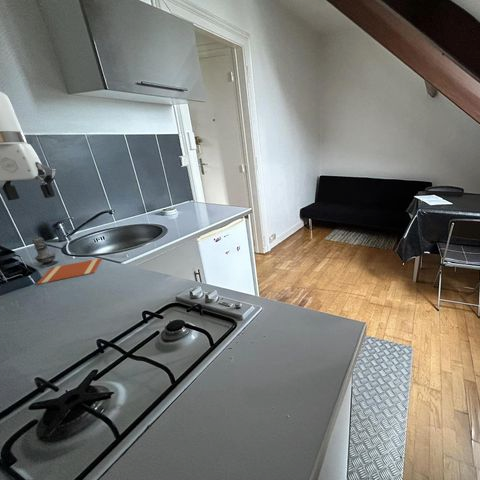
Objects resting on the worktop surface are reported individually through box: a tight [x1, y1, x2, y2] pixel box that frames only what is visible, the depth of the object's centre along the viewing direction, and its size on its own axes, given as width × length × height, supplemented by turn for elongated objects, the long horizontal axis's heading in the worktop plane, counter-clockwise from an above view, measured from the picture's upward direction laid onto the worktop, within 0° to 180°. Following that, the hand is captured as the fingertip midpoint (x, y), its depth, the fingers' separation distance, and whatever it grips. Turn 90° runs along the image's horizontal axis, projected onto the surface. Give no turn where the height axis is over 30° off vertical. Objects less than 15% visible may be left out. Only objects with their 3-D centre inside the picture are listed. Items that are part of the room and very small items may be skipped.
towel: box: [36, 258, 103, 286], centre depth 95 cm, size 15×14×1 cm
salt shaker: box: [31, 234, 59, 268], centre depth 99 cm, size 6×6×12 cm
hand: (32, 198), depth 81 cm, fingers open, 9 cm apart
